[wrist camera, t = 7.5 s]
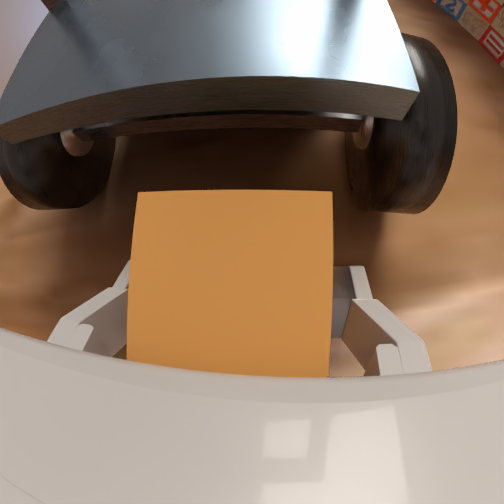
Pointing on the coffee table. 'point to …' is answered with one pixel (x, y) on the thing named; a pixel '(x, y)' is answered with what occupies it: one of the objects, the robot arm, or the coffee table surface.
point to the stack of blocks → (480, 22)
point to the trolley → (226, 91)
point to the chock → (232, 281)
